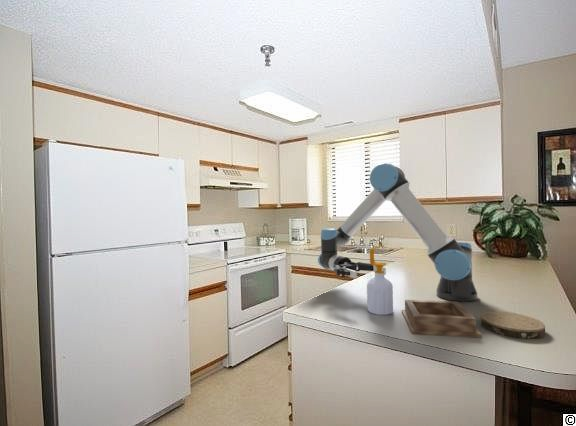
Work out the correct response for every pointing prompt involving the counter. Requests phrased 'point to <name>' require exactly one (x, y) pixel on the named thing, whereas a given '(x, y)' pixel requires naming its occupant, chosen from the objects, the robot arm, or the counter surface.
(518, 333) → the wood slice
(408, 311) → the walnut caddy
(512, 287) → the counter surface
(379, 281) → the soap bottle
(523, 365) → the counter surface
